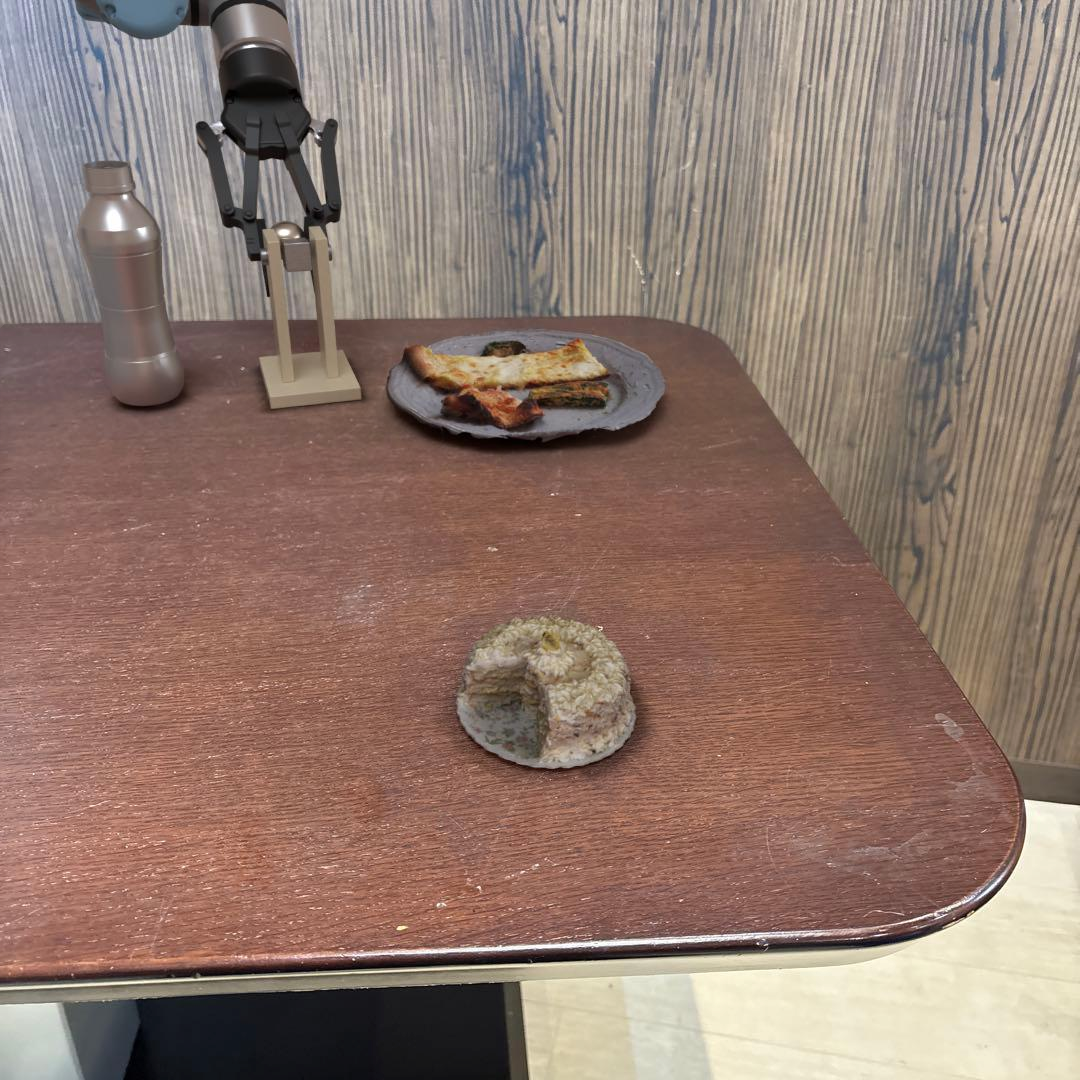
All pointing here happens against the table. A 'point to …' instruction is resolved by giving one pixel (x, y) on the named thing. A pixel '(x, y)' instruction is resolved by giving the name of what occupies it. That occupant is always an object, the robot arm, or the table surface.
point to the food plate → (525, 384)
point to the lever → (293, 247)
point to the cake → (546, 693)
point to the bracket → (328, 369)
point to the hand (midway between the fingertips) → (295, 287)
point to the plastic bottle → (128, 287)
